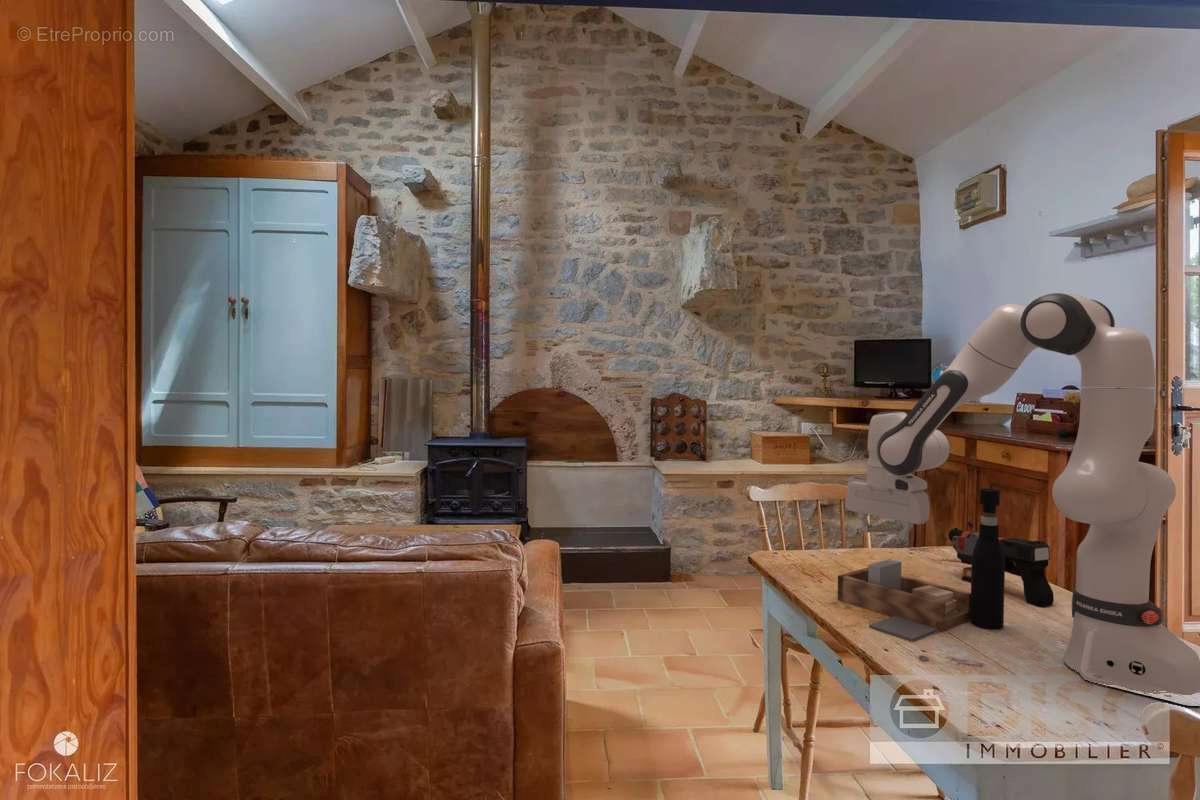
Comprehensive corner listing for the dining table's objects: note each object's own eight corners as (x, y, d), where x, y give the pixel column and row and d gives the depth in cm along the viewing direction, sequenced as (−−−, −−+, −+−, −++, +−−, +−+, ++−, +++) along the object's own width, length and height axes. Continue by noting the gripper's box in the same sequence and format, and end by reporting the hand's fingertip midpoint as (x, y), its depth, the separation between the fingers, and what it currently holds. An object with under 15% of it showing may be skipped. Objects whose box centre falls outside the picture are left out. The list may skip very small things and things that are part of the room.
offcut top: (953, 601, 157) (953, 592, 157) (936, 605, 154) (936, 596, 154) (929, 593, 162) (929, 585, 162) (912, 597, 159) (912, 589, 159)
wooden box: (971, 619, 158) (972, 593, 157) (941, 631, 150) (942, 604, 150) (868, 590, 179) (869, 567, 178) (837, 599, 171) (837, 575, 171)
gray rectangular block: (900, 602, 169) (901, 561, 169) (879, 609, 164) (880, 567, 164) (889, 599, 172) (890, 559, 171) (867, 606, 167) (868, 564, 166)
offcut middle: (956, 611, 158) (956, 600, 158) (942, 617, 153) (942, 606, 153) (925, 603, 163) (925, 592, 163) (910, 609, 159) (911, 598, 159)
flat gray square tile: (938, 631, 150) (938, 628, 150) (912, 641, 144) (912, 638, 144) (894, 618, 158) (895, 615, 158) (869, 627, 152) (869, 624, 152)
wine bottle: (1007, 630, 151) (1011, 492, 150) (975, 628, 152) (978, 491, 151) (997, 620, 157) (1000, 487, 156) (966, 618, 158) (969, 486, 157)
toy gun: (962, 579, 194) (960, 525, 194) (1057, 605, 167) (1055, 542, 167) (943, 581, 192) (942, 527, 192) (1036, 608, 165) (1035, 544, 165)
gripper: (840, 473, 174) (839, 528, 174) (919, 485, 157) (917, 546, 158) (855, 471, 177) (854, 525, 178) (934, 483, 161) (932, 542, 161)
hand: (884, 535), depth 168 cm, fingers open, 8 cm apart
